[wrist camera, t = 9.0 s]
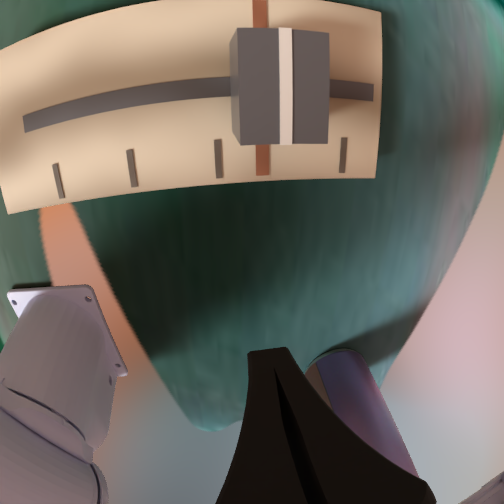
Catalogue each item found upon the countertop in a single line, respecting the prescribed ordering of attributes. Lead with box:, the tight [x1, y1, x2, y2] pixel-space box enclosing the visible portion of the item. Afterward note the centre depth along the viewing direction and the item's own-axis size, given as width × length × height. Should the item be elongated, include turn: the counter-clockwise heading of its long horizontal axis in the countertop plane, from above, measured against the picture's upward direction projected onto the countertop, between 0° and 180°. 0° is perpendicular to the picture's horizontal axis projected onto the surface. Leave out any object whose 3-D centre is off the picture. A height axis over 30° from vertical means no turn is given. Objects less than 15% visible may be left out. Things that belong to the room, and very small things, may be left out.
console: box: [0, 0, 382, 214], centre depth 13 cm, size 9×20×3 cm, turn 91°
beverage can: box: [305, 349, 419, 478], centre depth 20 cm, size 6×6×15 cm
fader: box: [229, 27, 330, 146], centre depth 10 cm, size 4×3×4 cm
